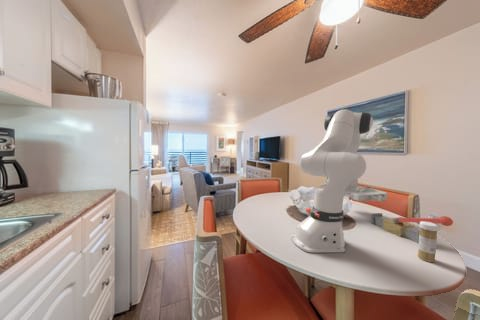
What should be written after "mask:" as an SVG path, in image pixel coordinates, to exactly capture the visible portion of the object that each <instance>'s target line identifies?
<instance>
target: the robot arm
mask: <svg viewBox="0 0 480 320" xmlns="http://www.w3.org/2000/svg"><path fill="white" fill-rule="evenodd" d="M373 125H374V118H373V116H372V114H371V112H365V111H364V112H354V111H352V110H349V109H345V108H344V109H340V110H338V111H336V112H333V113H329V114H327V115H326V116H325V118H324V121H323V127H324V130H325V134H324V136H323V137H322V139H321V140H320V142H319V143H318V144H317V145H316V146H315V147H314V148H312V149H311V150H309V151H307V152H305V153H303V154H302V156H301V157H300V160H299V168H300V169H301V171H302V172H303V173H305V174H308V175H311V176H316V177H324V178H326V183H325V185H324V184H322V185H320V186H318V187H317V188H316V189H315V190H314V198H313V199H314V203H313V205H314V206H312V209H311V208H309V207H306V208H305V211H306V213H308V214H309V216H307V217H306V218H305V219H304V220H302V221H301V222H300V223H298V224H297V226H296V229H295V232H294V233H291V234H290V240H291V241H292V242H293V244H294V245H296V246H297V247H298V248H299V249H300V250H302V251H304V252H306V253H345V251H346V249H345V247H346V240H345V237H344V229H343V220H344V209H343V204H344V197H347V198H351V199H352V200H354V201H357V202H367V201H368V202H369V201H370V202H371V201H376V202H377V201H378V202H385V201H386V200H388V197H389V196H388V195H389V194H388V193H387V192H386V191H382V190H379V189H376V188H374V187H370V186H364V185H363V186H362V185H358V179H360V178H362V176H364V174H365V173H366V170H367V161H366V160H365V158H364V157H363V155H361V154H359V153H357V152H358V150H359V148H360V143H361V135H362V134H367V133H369V132H370V131H371V129H372V127H373Z"/></svg>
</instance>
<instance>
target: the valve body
mask: <svg viewBox="0 0 480 320" xmlns="http://www.w3.org/2000/svg"><path fill="white" fill-rule="evenodd" d="M371 224H372V225H376V226H378V227H380V228H382V230H384V231H386V232H388V233H391V234H393V235H395V236H398V237H400V238H402V237H404V238H406V239H408V240H410V241H412V242H413V241H414V242H415V243H417V244H418V245H419V235H420V228H417V227H415V225H414V224H413V223H411V222H394V221H393V218H389V217H387V216H384V215H383V213H382V212H374V213H371Z"/></svg>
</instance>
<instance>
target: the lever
mask: <svg viewBox="0 0 480 320" xmlns="http://www.w3.org/2000/svg"><path fill="white" fill-rule="evenodd" d="M392 219H393V221H394V222H408V223H416V224H417V223H419V224H420V222H421V221H425V222H431V223H434V224H441V225H442V226H445V227H449V226H453V224H454V220H453V219H452V218H450V217H449V216H444V215H443V216H440V217H439V218H433V217H432V218H429V217H426V218H425V217H424V218H423V217H400V216H399V217H393V218H392Z"/></svg>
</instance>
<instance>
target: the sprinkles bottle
mask: <svg viewBox="0 0 480 320" xmlns="http://www.w3.org/2000/svg"><path fill="white" fill-rule="evenodd" d="M419 229H420V235H419V244H418V246H417V247H418V252H417V257H418V258H419V259H421V260H422V261H425V262H428V263H436V253H437V235H438V231H439V225H438V224H437V223H431V222H425V221H421V222H420V223H419Z"/></svg>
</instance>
